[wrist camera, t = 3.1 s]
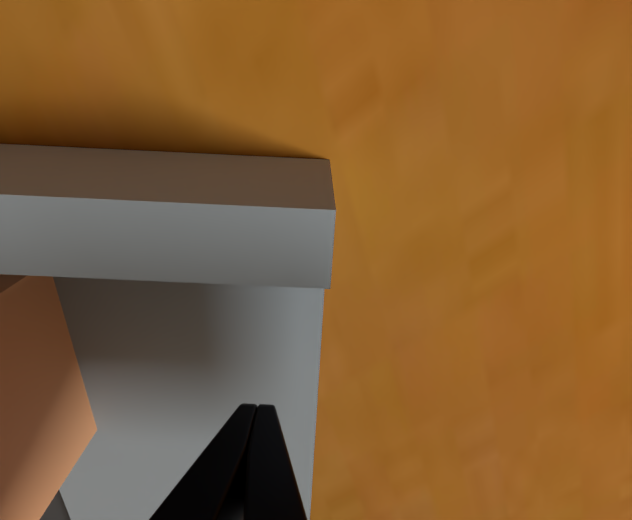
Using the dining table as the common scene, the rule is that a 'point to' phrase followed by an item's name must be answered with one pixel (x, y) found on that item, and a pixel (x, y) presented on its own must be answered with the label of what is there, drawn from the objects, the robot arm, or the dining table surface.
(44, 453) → the terracotta block
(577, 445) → the dining table surface
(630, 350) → the dining table surface
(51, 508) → the box
